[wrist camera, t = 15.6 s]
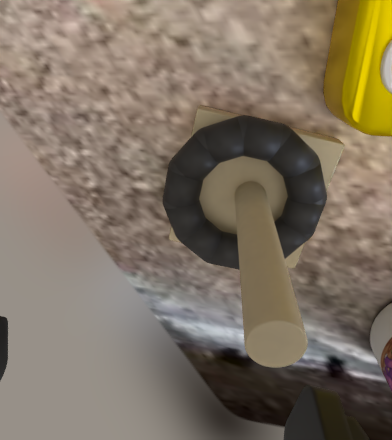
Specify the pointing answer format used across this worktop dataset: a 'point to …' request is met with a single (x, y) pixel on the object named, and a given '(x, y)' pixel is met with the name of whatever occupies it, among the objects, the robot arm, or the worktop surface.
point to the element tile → (361, 66)
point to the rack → (261, 241)
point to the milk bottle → (383, 341)
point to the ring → (230, 149)
